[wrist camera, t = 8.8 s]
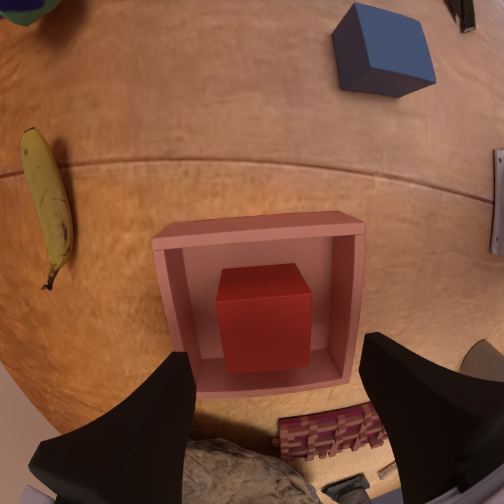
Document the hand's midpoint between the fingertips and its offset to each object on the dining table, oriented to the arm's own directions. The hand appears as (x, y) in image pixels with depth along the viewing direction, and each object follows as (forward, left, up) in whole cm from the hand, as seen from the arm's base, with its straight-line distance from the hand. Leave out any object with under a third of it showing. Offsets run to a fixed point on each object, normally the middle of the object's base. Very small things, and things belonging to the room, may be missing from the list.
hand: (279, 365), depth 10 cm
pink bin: (0, 0, -8) cm, 7 cm away
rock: (-36, +11, -5) cm, 38 cm away
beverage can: (-36, -11, -8) cm, 38 cm away
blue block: (+15, -8, -8) cm, 18 cm away
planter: (-12, -24, -8) cm, 28 cm away
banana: (+7, +13, -8) cm, 17 cm away
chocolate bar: (-17, -9, -8) cm, 21 cm away
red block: (0, 0, -7) cm, 7 cm away
